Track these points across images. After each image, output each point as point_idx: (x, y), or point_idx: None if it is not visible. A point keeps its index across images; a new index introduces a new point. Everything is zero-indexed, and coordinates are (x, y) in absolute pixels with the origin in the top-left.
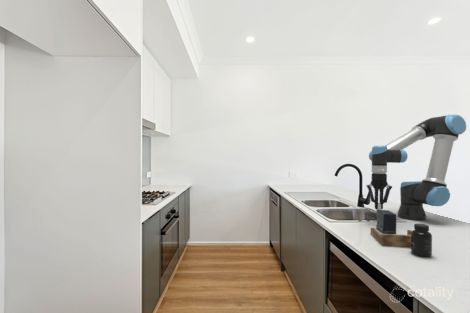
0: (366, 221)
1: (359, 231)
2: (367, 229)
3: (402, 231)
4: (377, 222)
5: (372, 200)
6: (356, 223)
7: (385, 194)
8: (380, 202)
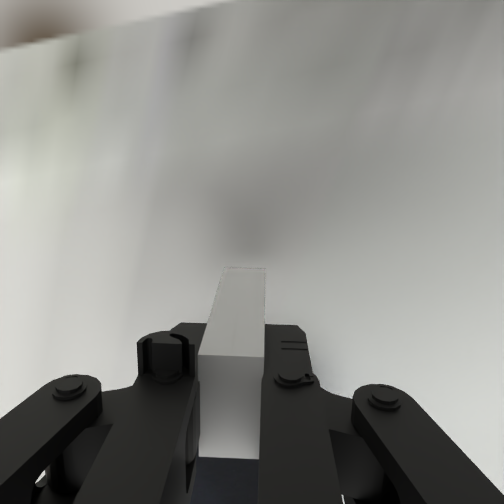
0: (166, 56)
1: None
2: None
3: None
4: None
5: (47, 502)
6: (30, 187)
7: None
8: (259, 448)
